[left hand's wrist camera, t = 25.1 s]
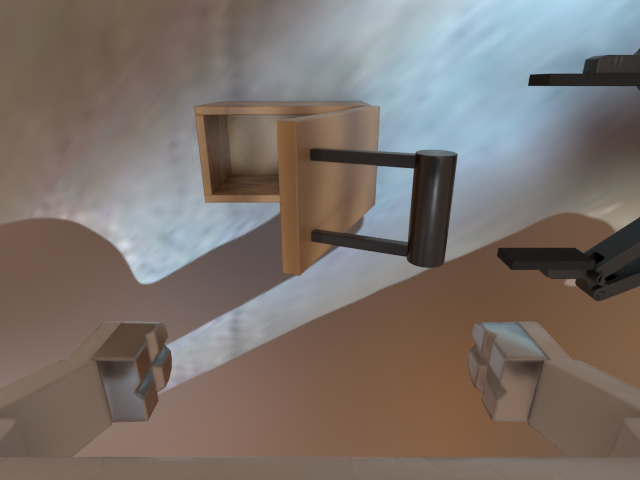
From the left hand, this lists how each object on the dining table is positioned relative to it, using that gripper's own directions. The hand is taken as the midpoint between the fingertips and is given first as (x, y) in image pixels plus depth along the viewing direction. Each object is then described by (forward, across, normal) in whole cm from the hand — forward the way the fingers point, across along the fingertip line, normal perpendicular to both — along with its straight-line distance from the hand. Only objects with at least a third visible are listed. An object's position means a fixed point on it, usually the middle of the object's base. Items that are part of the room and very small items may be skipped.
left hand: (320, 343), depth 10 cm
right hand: (+21, +15, 0) cm, 26 cm away
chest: (+40, -3, 0) cm, 40 cm away
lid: (+22, +1, 0) cm, 22 cm away
